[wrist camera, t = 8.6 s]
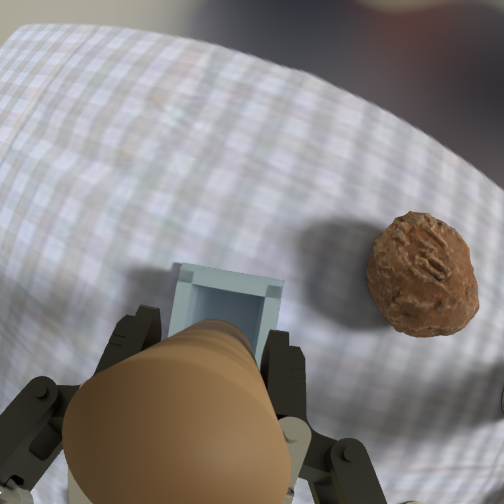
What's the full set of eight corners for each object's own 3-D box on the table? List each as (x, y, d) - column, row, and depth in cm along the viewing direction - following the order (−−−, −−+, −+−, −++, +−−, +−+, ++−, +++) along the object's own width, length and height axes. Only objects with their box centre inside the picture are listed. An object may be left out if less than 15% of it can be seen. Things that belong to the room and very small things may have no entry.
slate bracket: (184, 263, 31) (172, 254, 25) (282, 281, 31) (293, 276, 26) (165, 378, 29) (150, 394, 23) (262, 396, 30) (268, 416, 24)
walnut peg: (217, 303, 18) (174, 306, 5) (268, 360, 17) (337, 477, 5) (160, 350, 17) (28, 431, 4) (210, 406, 17) (173, 566, 4)
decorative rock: (452, 312, 32) (508, 312, 22) (380, 357, 31) (430, 374, 21) (415, 212, 34) (466, 184, 24) (337, 245, 32) (377, 222, 23)
